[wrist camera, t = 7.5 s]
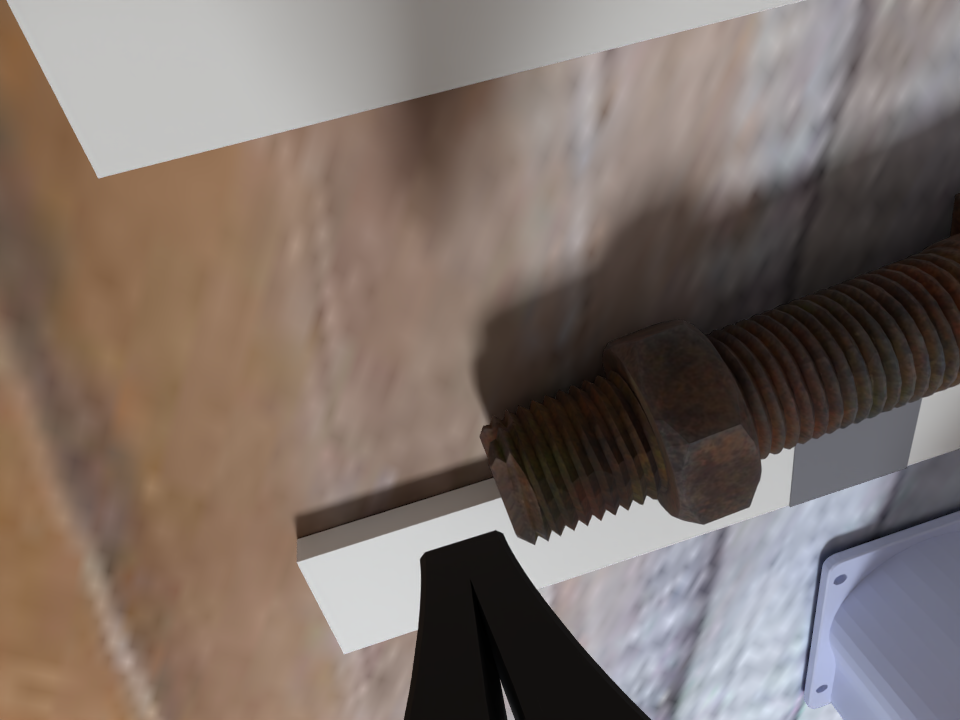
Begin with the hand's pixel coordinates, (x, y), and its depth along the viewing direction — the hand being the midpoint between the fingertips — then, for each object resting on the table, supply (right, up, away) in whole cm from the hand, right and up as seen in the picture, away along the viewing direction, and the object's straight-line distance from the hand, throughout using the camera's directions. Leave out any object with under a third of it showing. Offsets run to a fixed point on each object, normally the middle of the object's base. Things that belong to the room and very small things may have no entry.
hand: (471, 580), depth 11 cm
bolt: (+7, +5, +7) cm, 11 cm away
